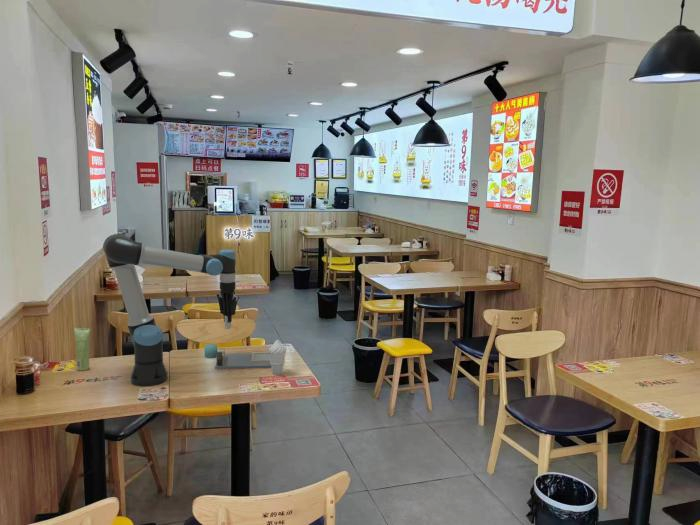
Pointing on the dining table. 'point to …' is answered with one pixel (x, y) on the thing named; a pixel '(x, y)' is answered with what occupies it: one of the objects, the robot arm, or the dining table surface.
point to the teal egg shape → (211, 350)
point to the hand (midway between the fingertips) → (227, 328)
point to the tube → (82, 348)
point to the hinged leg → (220, 356)
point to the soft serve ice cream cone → (277, 357)
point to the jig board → (245, 360)
